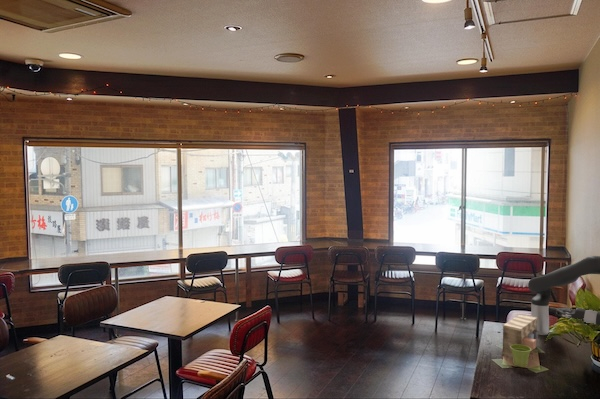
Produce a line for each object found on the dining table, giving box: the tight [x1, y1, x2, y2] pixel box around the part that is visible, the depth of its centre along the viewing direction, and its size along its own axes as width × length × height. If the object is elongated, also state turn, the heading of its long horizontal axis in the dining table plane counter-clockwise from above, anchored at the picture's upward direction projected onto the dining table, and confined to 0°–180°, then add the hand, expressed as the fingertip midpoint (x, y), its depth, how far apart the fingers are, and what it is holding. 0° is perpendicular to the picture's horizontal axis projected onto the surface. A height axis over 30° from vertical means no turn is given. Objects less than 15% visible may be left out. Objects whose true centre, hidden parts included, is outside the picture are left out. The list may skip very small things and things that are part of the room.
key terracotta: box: [523, 337, 537, 350], centre depth 242 cm, size 4×6×4 cm, turn 47°
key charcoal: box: [532, 330, 539, 340], centre depth 255 cm, size 4×6×4 cm, turn 47°
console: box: [502, 313, 538, 359], centre depth 252 cm, size 25×9×16 cm, turn 137°
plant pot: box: [510, 344, 532, 368], centre depth 234 cm, size 9×9×9 cm
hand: (548, 309), depth 247 cm, fingers closed
